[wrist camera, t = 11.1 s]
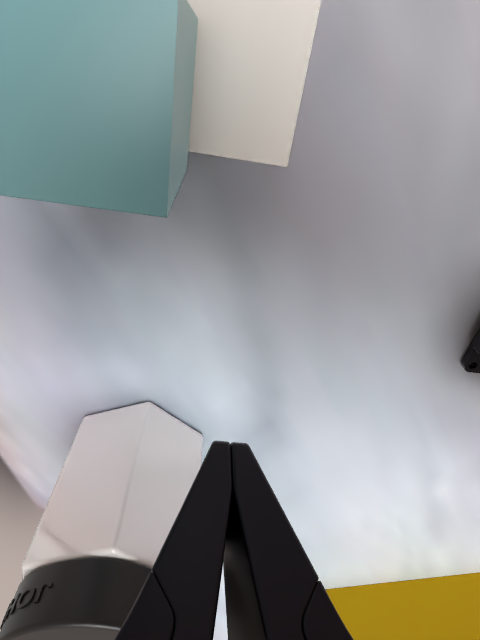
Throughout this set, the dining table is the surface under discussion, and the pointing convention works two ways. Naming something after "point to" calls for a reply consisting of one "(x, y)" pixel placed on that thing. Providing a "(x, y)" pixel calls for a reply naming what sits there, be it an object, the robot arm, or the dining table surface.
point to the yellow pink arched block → (412, 609)
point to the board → (250, 76)
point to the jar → (104, 525)
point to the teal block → (96, 101)
